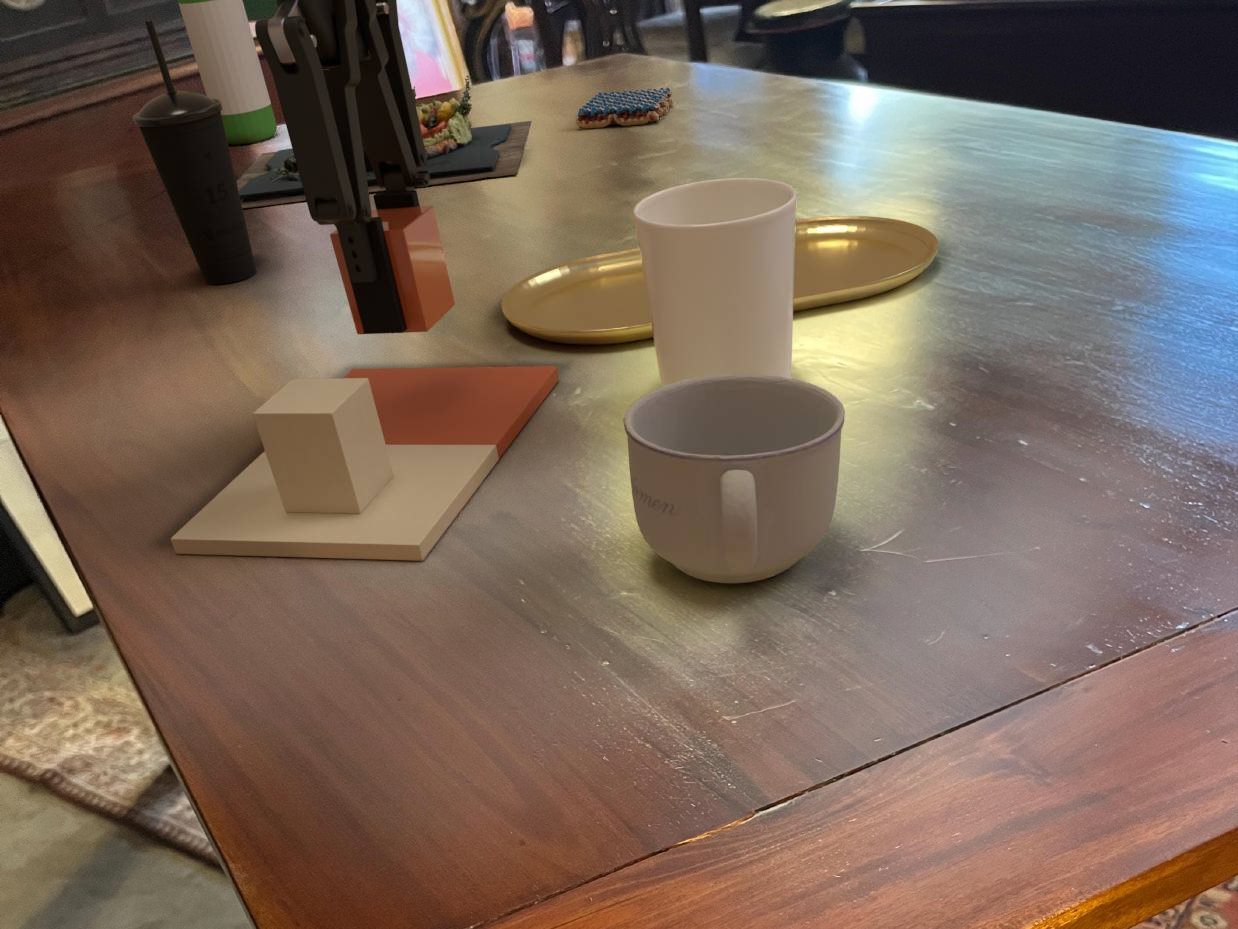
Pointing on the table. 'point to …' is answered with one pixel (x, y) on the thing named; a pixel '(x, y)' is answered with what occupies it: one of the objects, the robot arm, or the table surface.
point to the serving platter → (617, 300)
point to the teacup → (734, 472)
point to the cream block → (325, 445)
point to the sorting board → (421, 463)
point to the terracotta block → (409, 266)
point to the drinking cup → (198, 175)
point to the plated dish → (444, 136)
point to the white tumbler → (720, 276)
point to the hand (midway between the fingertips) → (402, 314)
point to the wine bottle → (230, 67)
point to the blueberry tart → (624, 108)
